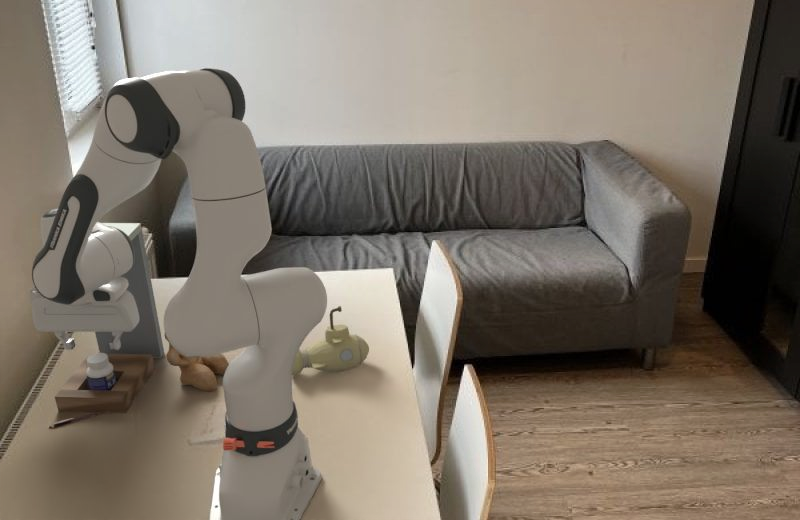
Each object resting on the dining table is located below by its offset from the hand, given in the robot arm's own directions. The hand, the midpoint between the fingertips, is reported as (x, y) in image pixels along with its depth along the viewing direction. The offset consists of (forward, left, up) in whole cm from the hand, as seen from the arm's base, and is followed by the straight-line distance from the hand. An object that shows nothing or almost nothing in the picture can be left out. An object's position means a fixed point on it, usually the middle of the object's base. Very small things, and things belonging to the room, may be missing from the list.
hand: (93, 348), depth 155 cm
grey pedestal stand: (+12, 0, -12) cm, 16 cm away
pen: (-8, +2, -12) cm, 14 cm away
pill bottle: (+1, 0, -12) cm, 12 cm away
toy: (+12, -45, -12) cm, 48 cm away
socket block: (+3, 0, -12) cm, 12 cm away
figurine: (+7, -18, -12) cm, 23 cm away
